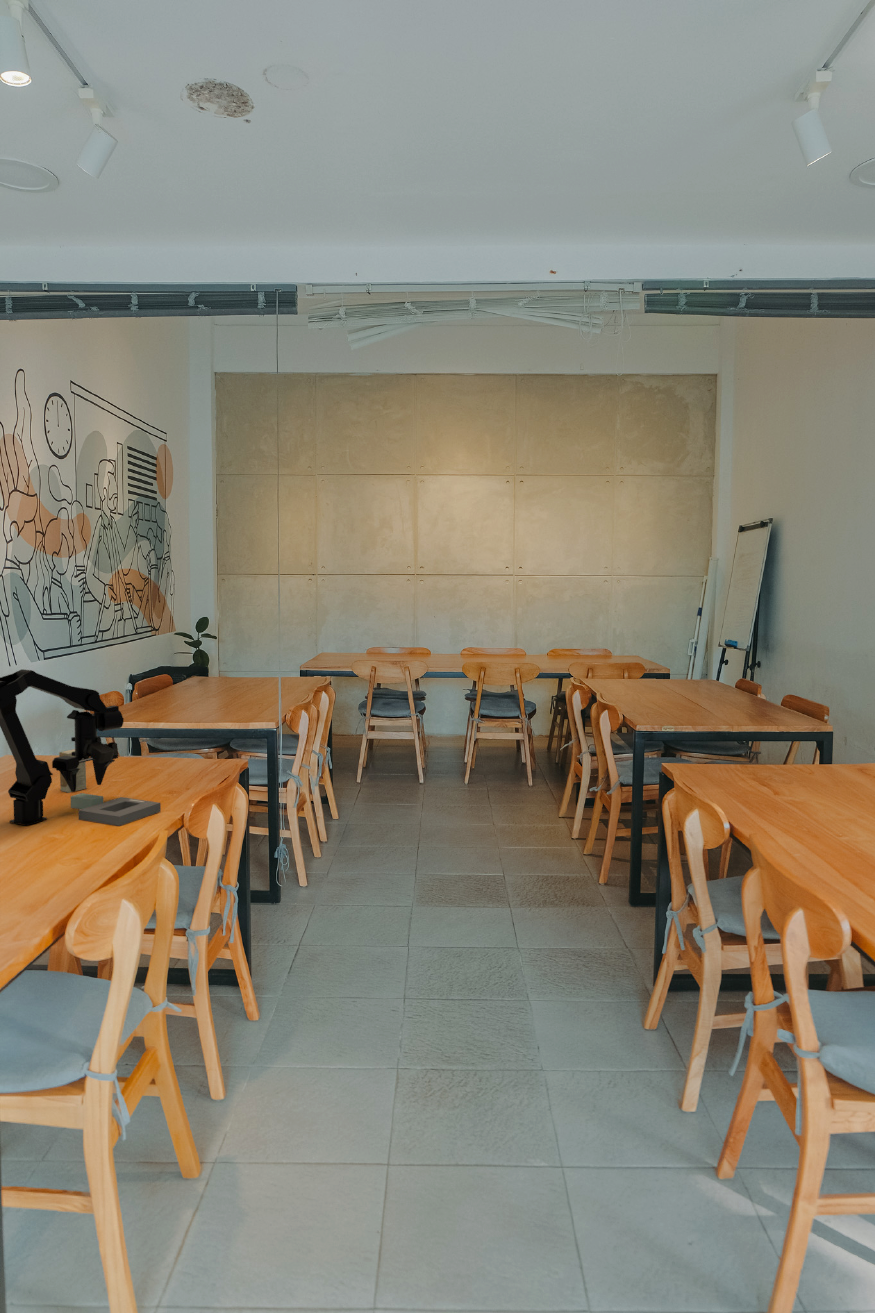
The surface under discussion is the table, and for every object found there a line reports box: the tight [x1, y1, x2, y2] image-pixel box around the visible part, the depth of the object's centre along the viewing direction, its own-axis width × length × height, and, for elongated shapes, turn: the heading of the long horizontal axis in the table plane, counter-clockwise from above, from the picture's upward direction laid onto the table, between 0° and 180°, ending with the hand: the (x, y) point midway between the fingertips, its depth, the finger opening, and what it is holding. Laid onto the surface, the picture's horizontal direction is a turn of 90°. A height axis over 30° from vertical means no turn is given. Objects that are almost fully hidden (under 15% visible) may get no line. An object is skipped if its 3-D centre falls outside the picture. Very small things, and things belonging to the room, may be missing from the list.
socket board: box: [77, 796, 162, 827], centre depth 221 cm, size 16×14×3 cm
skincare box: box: [58, 748, 87, 794], centre depth 247 cm, size 6×4×12 cm
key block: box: [70, 792, 104, 810], centre depth 228 cm, size 4×8×4 cm, turn 68°
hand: (86, 788), depth 227 cm, fingers open, 9 cm apart
